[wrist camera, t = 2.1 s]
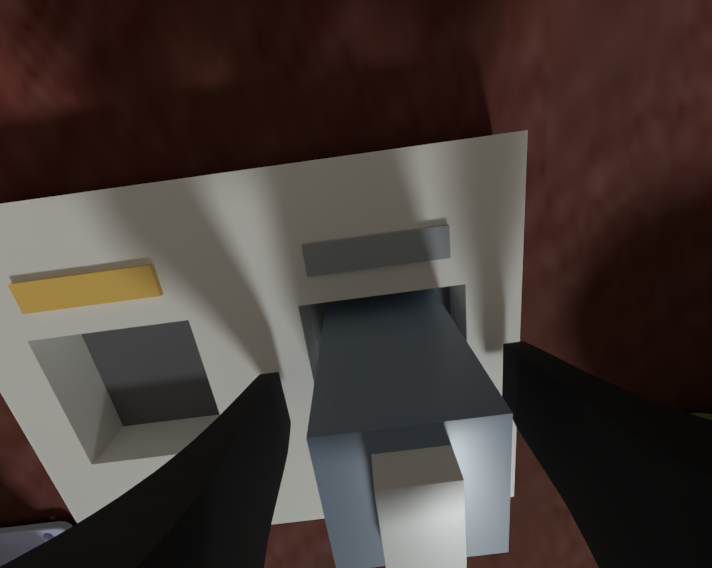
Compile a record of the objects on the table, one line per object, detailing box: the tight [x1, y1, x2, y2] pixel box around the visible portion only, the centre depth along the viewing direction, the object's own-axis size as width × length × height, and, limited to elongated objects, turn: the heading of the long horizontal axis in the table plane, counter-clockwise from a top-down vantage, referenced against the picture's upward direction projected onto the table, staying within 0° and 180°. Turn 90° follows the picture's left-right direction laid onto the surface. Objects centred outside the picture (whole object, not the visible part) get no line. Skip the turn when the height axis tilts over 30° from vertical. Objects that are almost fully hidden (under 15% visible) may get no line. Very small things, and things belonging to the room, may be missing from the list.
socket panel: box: [0, 130, 528, 525], centre depth 13 cm, size 18×14×3 cm
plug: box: [306, 288, 513, 568], centre depth 10 cm, size 4×4×8 cm
